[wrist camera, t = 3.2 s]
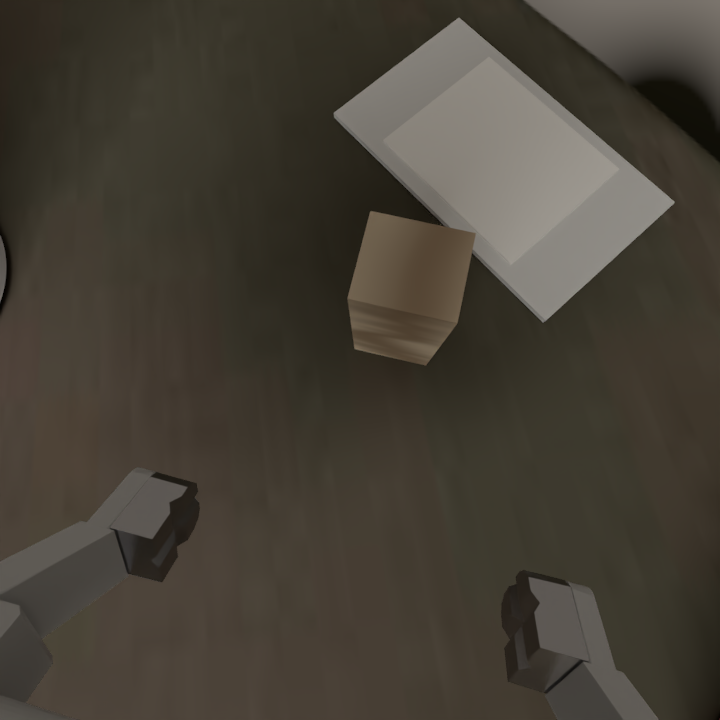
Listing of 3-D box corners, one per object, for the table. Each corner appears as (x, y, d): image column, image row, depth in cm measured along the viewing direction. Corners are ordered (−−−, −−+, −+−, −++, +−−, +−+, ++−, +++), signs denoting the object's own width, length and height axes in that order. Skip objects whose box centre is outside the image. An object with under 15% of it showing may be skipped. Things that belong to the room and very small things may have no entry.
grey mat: (670, 205, 27) (677, 200, 26) (542, 322, 25) (547, 319, 25) (457, 23, 30) (459, 14, 29) (334, 117, 29) (333, 110, 28)
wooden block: (354, 349, 25) (347, 298, 16) (369, 289, 26) (370, 210, 17) (425, 365, 25) (457, 323, 16) (438, 305, 26) (475, 233, 17)
